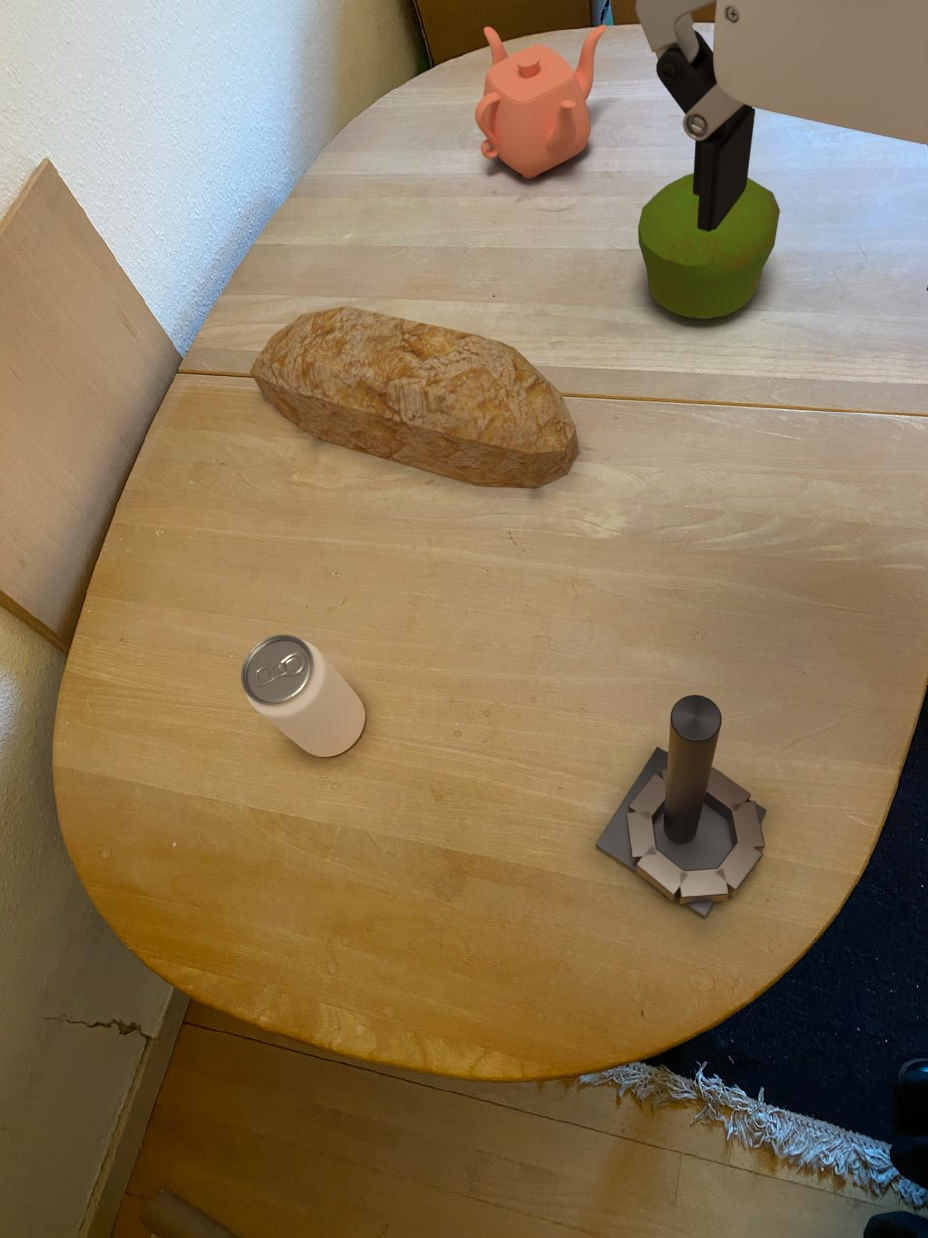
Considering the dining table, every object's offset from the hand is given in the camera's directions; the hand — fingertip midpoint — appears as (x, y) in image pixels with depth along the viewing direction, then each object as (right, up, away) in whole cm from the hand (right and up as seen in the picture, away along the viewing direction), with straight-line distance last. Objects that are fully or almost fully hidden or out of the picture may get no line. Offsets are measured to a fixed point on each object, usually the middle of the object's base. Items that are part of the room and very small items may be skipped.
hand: (829, 240), depth 34 cm
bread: (-20, +5, +51) cm, 55 cm away
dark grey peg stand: (+1, -32, +28) cm, 42 cm away
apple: (+9, +18, +51) cm, 55 cm away
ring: (+2, -32, +26) cm, 41 cm away
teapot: (-5, +41, +66) cm, 78 cm away
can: (-27, -25, +38) cm, 52 cm away
